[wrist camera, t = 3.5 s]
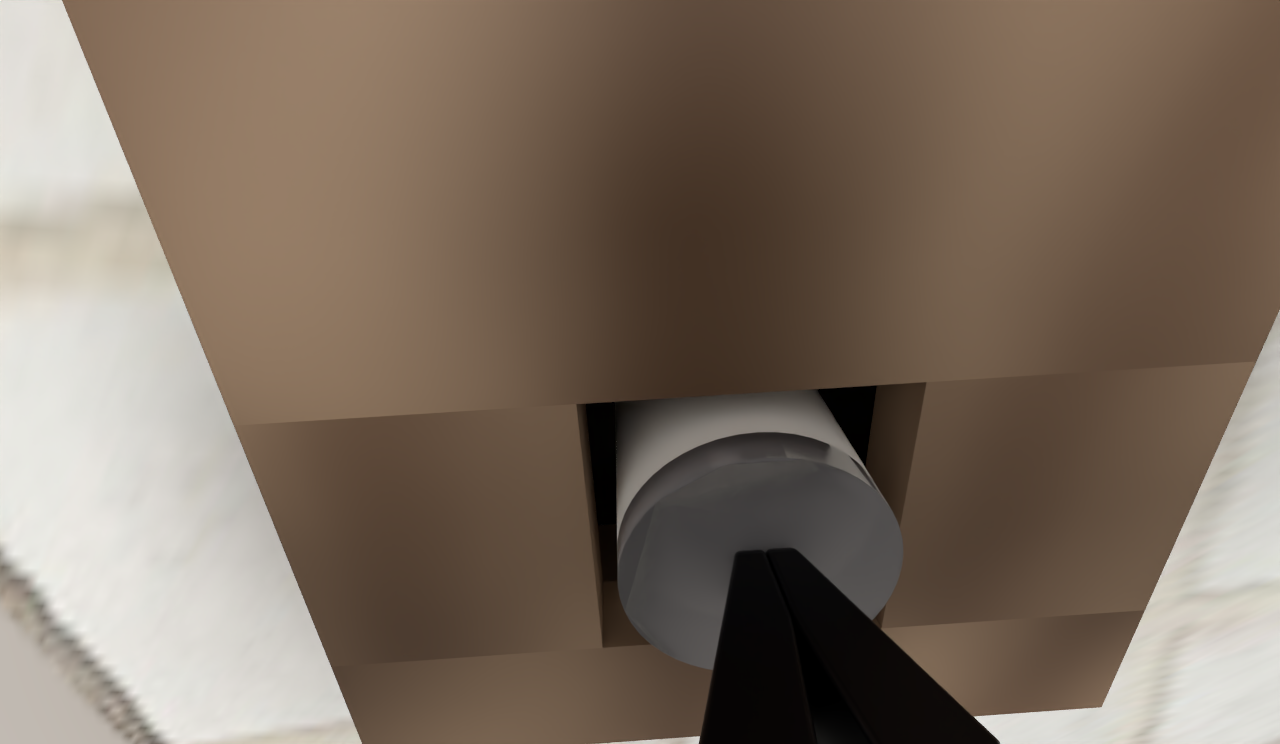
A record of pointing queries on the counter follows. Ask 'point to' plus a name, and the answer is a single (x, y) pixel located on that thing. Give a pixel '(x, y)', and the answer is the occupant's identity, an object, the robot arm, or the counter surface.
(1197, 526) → the counter surface
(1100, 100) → the wooden holder block
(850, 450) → the plug
